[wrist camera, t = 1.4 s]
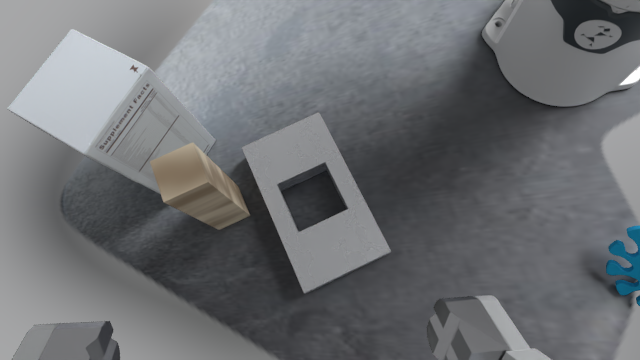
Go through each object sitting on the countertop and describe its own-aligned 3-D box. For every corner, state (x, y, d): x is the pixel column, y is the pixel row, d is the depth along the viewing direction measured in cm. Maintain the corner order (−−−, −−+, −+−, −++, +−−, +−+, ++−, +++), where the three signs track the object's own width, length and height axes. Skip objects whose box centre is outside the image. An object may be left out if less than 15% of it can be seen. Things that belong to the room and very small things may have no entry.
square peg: (208, 200, 46) (149, 161, 33) (238, 186, 46) (192, 142, 33) (219, 230, 45) (163, 202, 31) (250, 215, 45) (208, 181, 32)
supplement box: (161, 109, 50) (72, 22, 34) (218, 139, 48) (152, 62, 32) (117, 170, 48) (0, 108, 32) (175, 204, 46) (81, 156, 30)
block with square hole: (248, 156, 47) (241, 147, 44) (321, 123, 48) (319, 112, 45) (307, 293, 42) (304, 293, 39) (388, 254, 42) (391, 251, 40)
